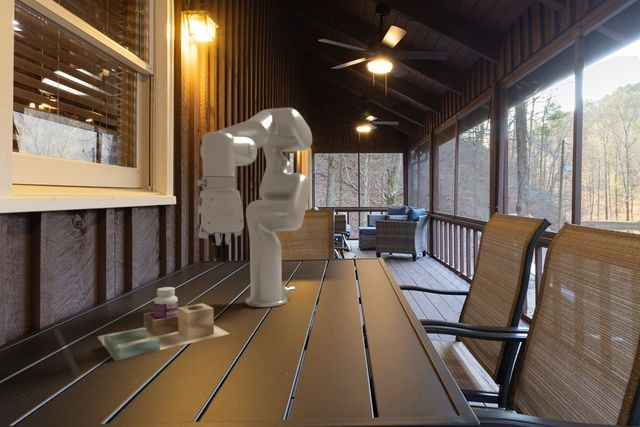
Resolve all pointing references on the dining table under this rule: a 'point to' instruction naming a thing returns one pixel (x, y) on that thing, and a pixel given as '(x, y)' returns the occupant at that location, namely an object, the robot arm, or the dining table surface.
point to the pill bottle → (165, 303)
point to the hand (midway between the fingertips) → (221, 260)
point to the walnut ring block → (160, 324)
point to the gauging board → (146, 342)
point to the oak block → (195, 321)
